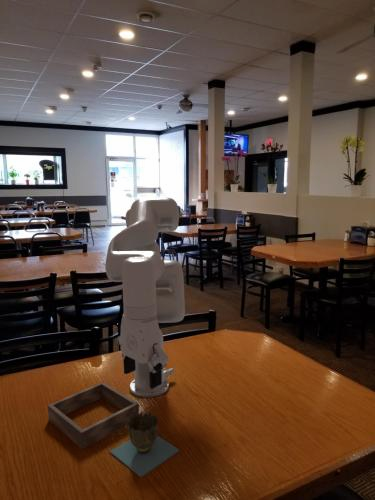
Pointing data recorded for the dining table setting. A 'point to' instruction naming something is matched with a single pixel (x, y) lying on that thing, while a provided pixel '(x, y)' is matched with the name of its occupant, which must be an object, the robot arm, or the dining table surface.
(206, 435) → the dining table surface
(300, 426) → the dining table surface
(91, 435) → the grey square frame
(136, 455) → the light blue square plate
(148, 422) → the dark rounded piece
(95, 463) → the dining table surface
